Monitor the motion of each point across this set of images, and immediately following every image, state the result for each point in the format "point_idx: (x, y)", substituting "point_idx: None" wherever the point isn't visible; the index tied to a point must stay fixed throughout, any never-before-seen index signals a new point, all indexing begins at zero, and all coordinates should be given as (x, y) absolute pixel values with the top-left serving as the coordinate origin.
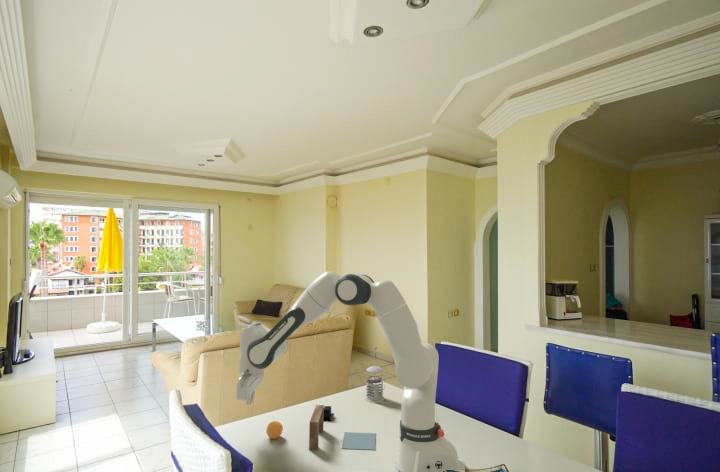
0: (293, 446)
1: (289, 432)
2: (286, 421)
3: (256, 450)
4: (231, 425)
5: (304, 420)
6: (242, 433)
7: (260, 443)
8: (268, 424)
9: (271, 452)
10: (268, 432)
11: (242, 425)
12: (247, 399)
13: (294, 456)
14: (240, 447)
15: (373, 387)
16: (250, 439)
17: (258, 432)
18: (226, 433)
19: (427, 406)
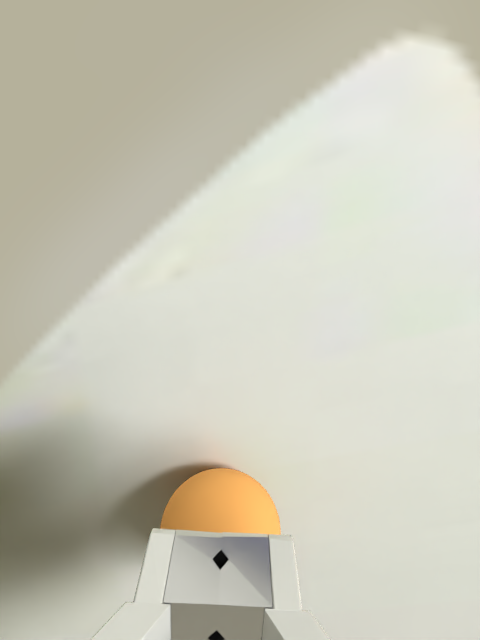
0: (130, 588)
1: (296, 551)
2: (459, 516)
3: (52, 421)
4: (454, 111)
5: (455, 603)
6: (287, 264)
7: (143, 425)
8: (220, 525)
9: (46, 502)
10: (169, 505)
11: (438, 221)
12: (117, 632)
13: (30, 603)
14: (71, 312)
15: None
16: (193, 349)
17: (301, 378)
18: (290, 118)
19: None
